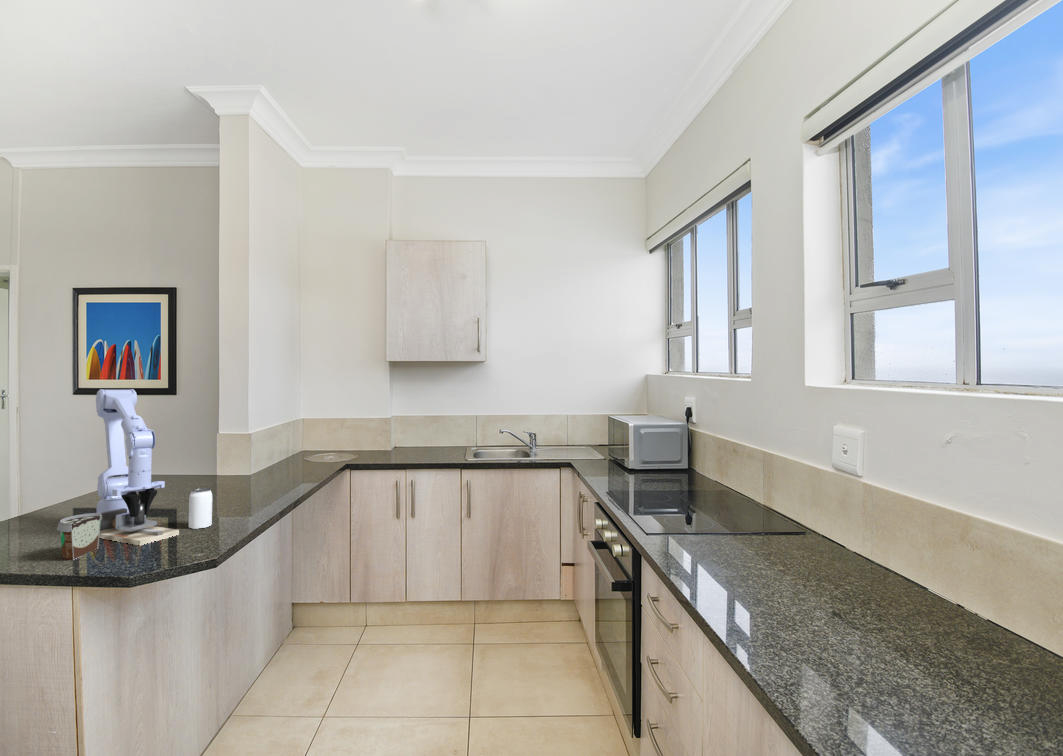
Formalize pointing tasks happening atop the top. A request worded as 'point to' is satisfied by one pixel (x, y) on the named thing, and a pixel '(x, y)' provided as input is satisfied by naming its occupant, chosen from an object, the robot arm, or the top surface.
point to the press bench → (132, 537)
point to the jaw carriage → (134, 520)
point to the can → (200, 508)
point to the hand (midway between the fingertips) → (139, 515)
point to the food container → (79, 534)
